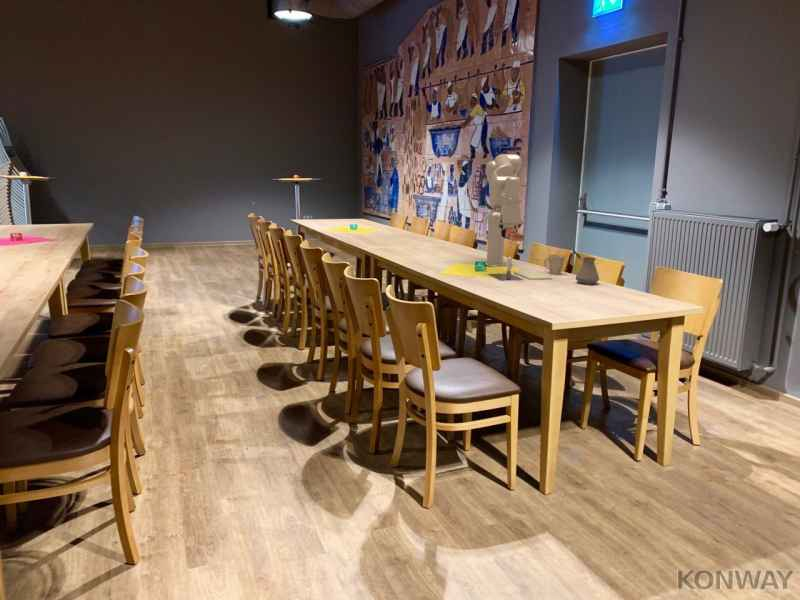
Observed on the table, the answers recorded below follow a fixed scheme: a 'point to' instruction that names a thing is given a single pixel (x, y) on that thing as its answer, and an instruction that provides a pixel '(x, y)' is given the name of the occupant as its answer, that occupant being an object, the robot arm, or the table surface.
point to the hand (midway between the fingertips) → (509, 236)
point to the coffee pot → (587, 271)
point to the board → (532, 275)
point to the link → (513, 235)
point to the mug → (555, 264)
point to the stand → (506, 276)
